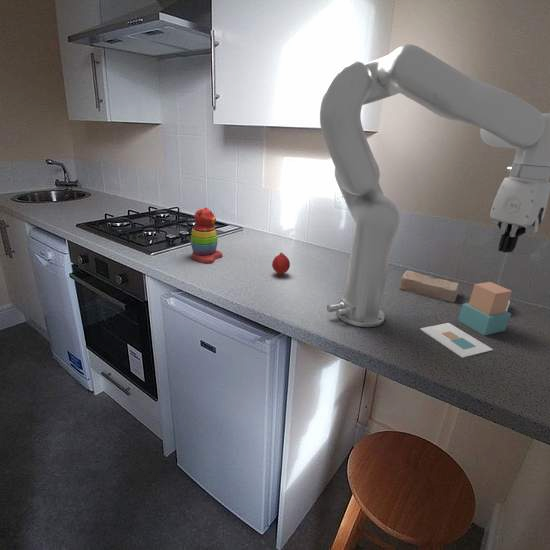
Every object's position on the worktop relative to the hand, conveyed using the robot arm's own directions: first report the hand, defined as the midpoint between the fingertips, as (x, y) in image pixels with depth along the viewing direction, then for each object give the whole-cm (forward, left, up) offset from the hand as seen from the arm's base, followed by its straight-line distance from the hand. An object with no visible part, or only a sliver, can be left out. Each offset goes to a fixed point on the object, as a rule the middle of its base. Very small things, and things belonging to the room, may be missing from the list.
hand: (505, 251), depth 88 cm
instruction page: (-13, -3, -21) cm, 25 cm away
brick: (+2, +22, -21) cm, 30 cm away
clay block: (0, 0, -16) cm, 16 cm away
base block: (0, 0, -21) cm, 21 cm away
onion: (-38, +46, -21) cm, 63 cm away
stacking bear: (-58, +68, -21) cm, 92 cm away
